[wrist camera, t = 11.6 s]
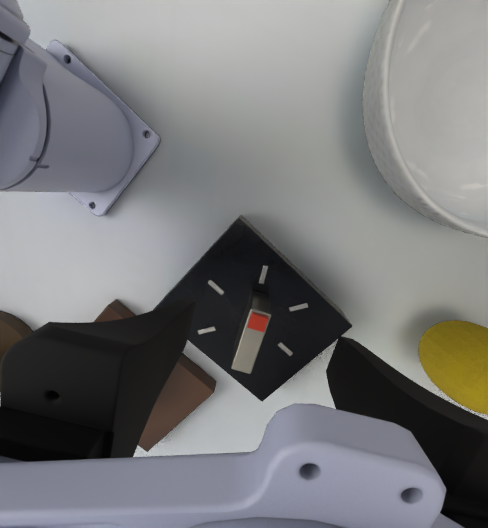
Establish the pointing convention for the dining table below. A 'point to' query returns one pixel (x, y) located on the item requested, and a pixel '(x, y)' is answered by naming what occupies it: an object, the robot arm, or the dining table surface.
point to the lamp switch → (168, 389)
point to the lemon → (458, 361)
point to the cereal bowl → (432, 108)
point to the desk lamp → (10, 333)
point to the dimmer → (235, 301)
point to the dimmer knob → (251, 332)
